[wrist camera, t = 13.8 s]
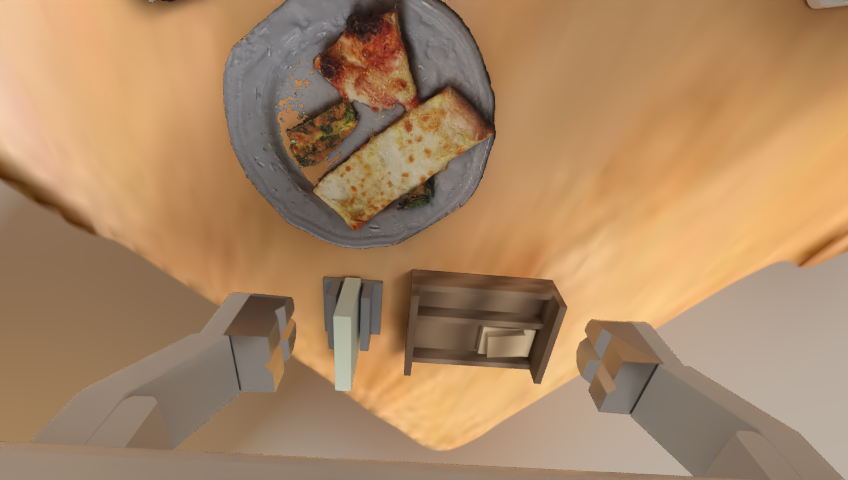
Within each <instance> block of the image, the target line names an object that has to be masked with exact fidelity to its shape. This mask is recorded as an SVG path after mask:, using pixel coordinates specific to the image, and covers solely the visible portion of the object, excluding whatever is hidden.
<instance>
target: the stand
mask: <svg viewBox="0 0 848 480" xmlns="http://www.w3.org/2000/svg"><path fill="white" fill-rule="evenodd" d="M344 281H345V278H335V277H324V279H323V288H324V313H325V331H328V344H329V349H334V324H333V315H334V312H335V309H336V306H337V303H338V300H339V297H340V293H341V290H342V287H343V284H344ZM382 284H383V281H375V280H361V306H360V351H368V349H369V343H370V337H371V334H379V335H380V322H381V303H382Z"/></svg>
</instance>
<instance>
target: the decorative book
mask: <svg viewBox="0 0 848 480" xmlns="http://www.w3.org/2000/svg"><path fill="white" fill-rule="evenodd" d="M148 1H149V3H152V2H155V1H157V0H148ZM162 1H168V2H171V1H174V0H162Z"/></svg>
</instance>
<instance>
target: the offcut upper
mask: <svg viewBox="0 0 848 480" xmlns="http://www.w3.org/2000/svg"><path fill="white" fill-rule="evenodd" d="M524 345H525V333H524V330H509V331H487V338H486V355H487V358H490V357H516V356H523V353H524Z"/></svg>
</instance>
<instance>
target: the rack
mask: <svg viewBox="0 0 848 480" xmlns="http://www.w3.org/2000/svg"><path fill="white" fill-rule="evenodd" d="M566 310H567V306H566V304H565V302H564V300H563V299H562V297H561V295H560V293H559V291H558V290H557V288H556V286H555V284H554V282H553V280H543V279H530V278H517V277H504V276H491V275H478V274H465V273H452V272H439V271H426V270H413V273H412V283H411V293H410V303H409V314H408V324H407V334H406V345H405V364H404V375H408V376H411V367H412V362H420V363H436V364H452V365H467V366H483V367H498V368H514V369H529V370H530V372H531V375H532V378H533V381H534V383H536V384H541V381H542V378H543V375H544V372H545V369H546V367H547V364H548V361H549V358H550V355H551V352H552V350H553V347H554V344H555V341H556V338H557V335H558V333H559V330H560V327H561V324H562V321H563V318H564V315H565V313H566ZM481 325H487V326H501V327H515V328H529V329H535V330H536V332H535V335H534V338H533V342H532V345H531V348H530V351H529V354H528V357H523V356H516V357H490V358H487V355H486V354H478V351H477V343H478V338H479V334H480V329H481Z"/></svg>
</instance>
